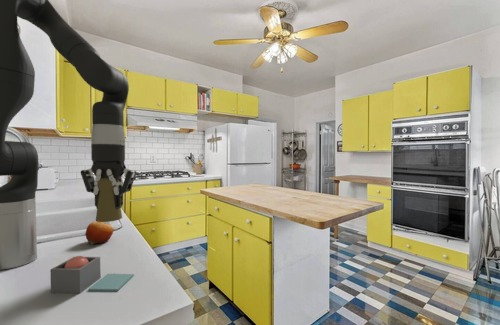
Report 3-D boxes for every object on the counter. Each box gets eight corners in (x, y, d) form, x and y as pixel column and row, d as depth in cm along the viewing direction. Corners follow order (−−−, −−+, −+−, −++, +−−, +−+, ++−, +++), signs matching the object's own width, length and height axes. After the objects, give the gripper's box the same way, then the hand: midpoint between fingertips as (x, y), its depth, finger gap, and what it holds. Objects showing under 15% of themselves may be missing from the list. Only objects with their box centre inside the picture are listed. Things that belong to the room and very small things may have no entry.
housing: (51, 292, 50) (50, 269, 50) (74, 277, 56) (74, 256, 56) (80, 293, 50) (79, 269, 50) (100, 277, 56) (100, 256, 56)
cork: (110, 222, 58) (109, 178, 58) (89, 221, 59) (89, 177, 59) (127, 216, 64) (127, 176, 64) (108, 215, 65) (108, 175, 65)
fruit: (74, 240, 77) (88, 217, 81) (97, 246, 83) (109, 224, 86) (85, 245, 73) (99, 220, 76) (108, 251, 78) (120, 227, 82)
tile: (88, 290, 51) (88, 288, 51) (107, 275, 57) (107, 273, 57) (117, 291, 50) (117, 289, 50) (133, 275, 57) (133, 274, 57)
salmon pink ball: (58, 285, 51) (57, 261, 51) (75, 274, 55) (74, 252, 55) (79, 285, 51) (78, 261, 50) (94, 275, 55) (93, 252, 55)
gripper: (70, 142, 58) (71, 211, 58) (127, 142, 57) (127, 212, 58) (92, 143, 65) (92, 205, 66) (142, 144, 65) (142, 205, 65)
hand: (109, 208), depth 62 cm, fingers closed on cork, 4 cm apart
